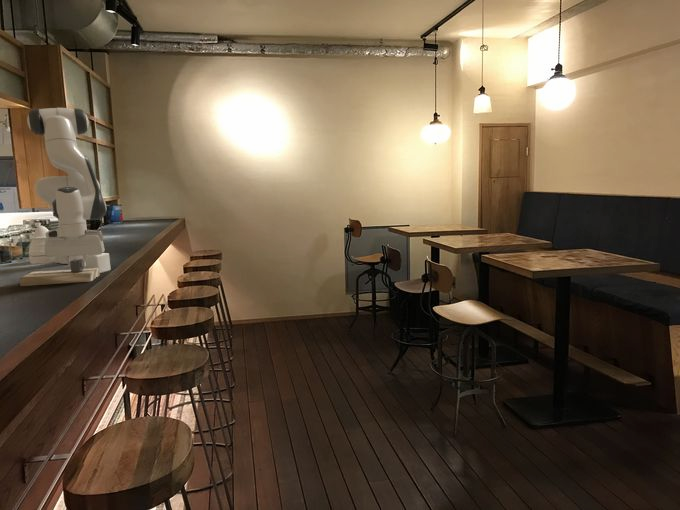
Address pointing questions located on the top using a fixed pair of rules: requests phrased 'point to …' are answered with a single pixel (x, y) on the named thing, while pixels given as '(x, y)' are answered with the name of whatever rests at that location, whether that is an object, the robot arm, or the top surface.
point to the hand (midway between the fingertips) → (77, 267)
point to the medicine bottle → (99, 262)
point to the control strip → (59, 276)
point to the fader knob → (76, 265)
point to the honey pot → (39, 246)
